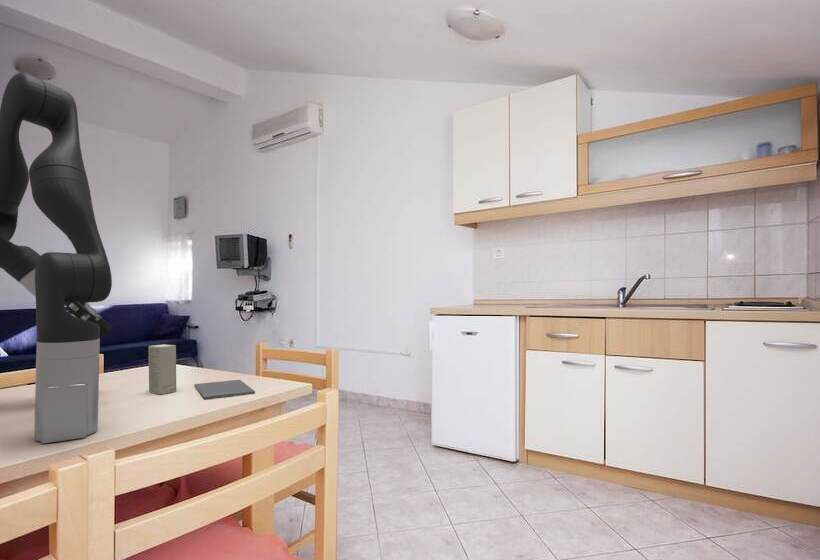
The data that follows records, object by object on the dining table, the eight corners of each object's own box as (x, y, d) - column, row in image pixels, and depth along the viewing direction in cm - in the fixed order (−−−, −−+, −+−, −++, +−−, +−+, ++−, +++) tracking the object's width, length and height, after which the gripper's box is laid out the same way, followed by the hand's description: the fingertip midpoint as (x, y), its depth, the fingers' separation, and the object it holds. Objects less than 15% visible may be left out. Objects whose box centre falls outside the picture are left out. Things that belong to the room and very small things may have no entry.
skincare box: (176, 391, 115) (177, 345, 116) (159, 395, 112) (160, 347, 112) (164, 389, 119) (165, 343, 119) (147, 392, 115) (147, 345, 115)
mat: (255, 393, 113) (255, 391, 113) (204, 399, 107) (204, 397, 107) (239, 381, 129) (239, 379, 129) (194, 386, 122) (194, 384, 122)
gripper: (62, 274, 99) (122, 323, 105) (69, 275, 111) (122, 319, 117) (30, 297, 96) (94, 347, 102) (41, 296, 108) (97, 341, 114)
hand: (109, 332), depth 109 cm, fingers open, 8 cm apart
